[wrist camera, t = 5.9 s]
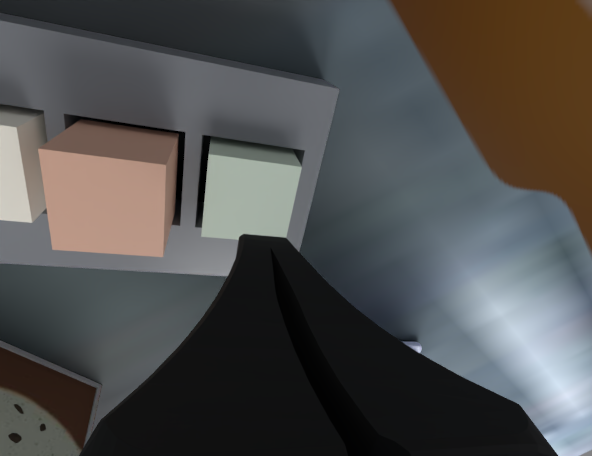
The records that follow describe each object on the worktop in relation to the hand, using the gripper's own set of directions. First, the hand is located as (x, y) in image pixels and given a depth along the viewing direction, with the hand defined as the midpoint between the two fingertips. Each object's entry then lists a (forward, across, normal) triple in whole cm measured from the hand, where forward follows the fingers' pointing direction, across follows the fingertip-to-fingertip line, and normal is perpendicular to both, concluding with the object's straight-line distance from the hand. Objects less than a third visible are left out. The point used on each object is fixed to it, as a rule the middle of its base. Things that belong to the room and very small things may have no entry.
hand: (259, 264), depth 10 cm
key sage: (+7, 0, 0) cm, 7 cm away
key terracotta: (+6, +5, 0) cm, 8 cm away
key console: (+8, +5, 0) cm, 9 cm away
